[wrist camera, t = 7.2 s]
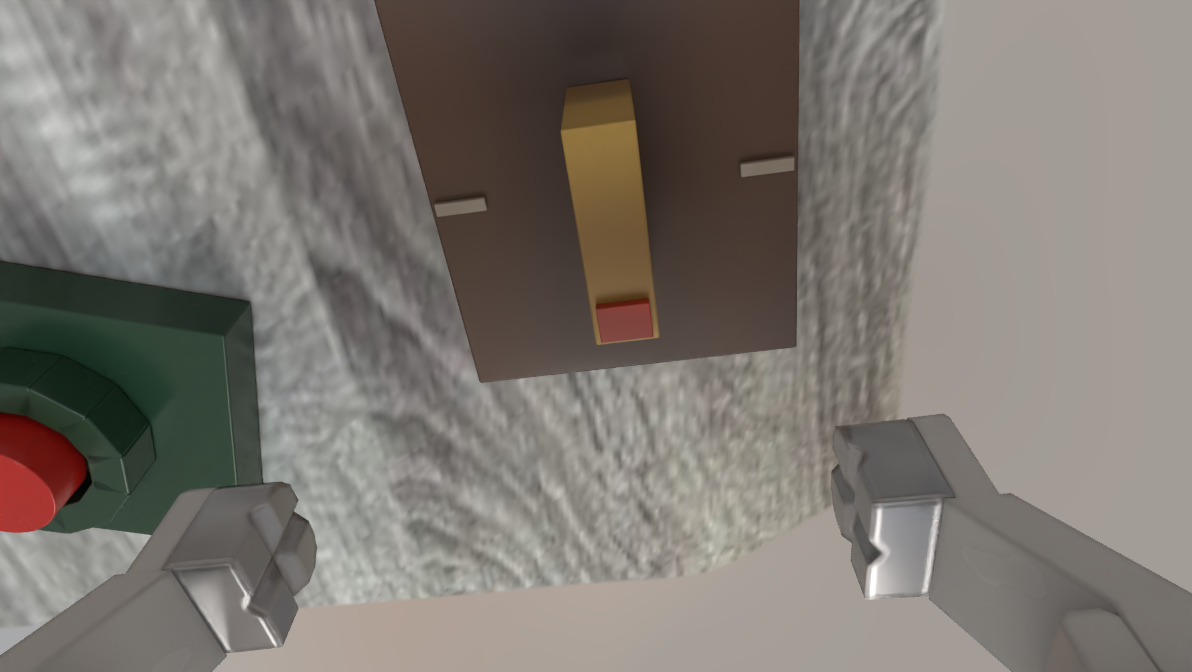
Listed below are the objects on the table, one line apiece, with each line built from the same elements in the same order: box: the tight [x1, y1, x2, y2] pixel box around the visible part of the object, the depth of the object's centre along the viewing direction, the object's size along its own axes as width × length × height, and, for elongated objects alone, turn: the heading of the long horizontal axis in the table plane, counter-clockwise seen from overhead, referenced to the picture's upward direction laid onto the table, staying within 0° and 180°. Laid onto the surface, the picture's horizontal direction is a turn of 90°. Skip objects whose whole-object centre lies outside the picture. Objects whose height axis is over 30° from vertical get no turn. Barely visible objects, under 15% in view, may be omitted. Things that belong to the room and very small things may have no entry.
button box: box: [0, 262, 262, 535], centre depth 26 cm, size 12×10×4 cm
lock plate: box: [374, 0, 800, 383], centre depth 21 cm, size 10×12×3 cm
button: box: [0, 413, 87, 533], centre depth 24 cm, size 4×4×2 cm
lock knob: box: [561, 79, 660, 345], centre depth 18 cm, size 6×2×4 cm, turn 8°
